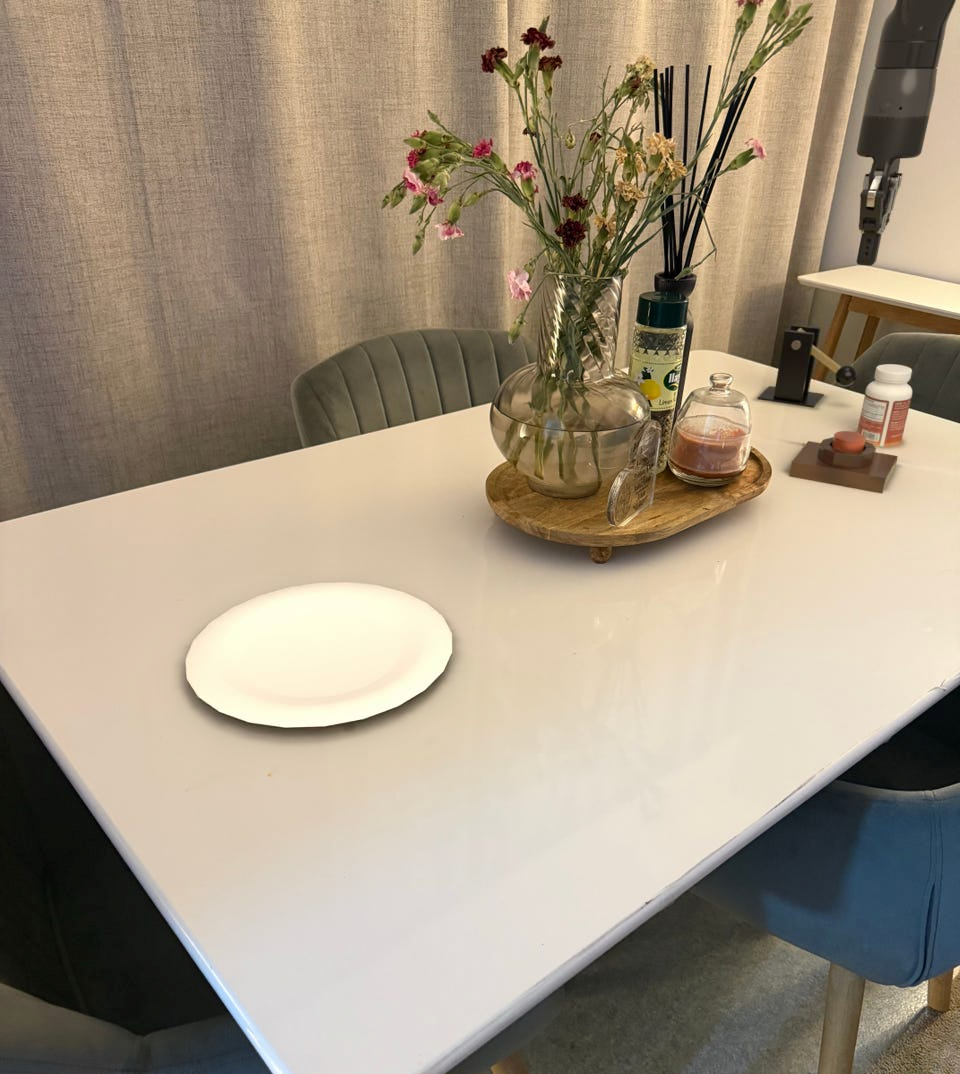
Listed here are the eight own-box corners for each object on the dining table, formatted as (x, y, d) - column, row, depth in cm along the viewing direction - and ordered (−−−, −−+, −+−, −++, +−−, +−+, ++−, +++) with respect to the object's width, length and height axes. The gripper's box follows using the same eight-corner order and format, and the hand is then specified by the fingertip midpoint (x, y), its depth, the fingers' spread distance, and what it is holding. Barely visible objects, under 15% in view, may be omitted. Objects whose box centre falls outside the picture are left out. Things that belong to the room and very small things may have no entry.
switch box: (894, 471, 126) (901, 443, 123) (882, 494, 119) (889, 465, 117) (805, 455, 131) (810, 428, 129) (788, 476, 124) (794, 448, 122)
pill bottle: (895, 438, 136) (913, 363, 130) (903, 453, 131) (922, 375, 125) (851, 435, 137) (867, 361, 131) (858, 450, 132) (875, 373, 126)
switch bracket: (822, 401, 151) (837, 327, 145) (812, 413, 146) (826, 337, 140) (768, 393, 155) (779, 321, 149) (756, 404, 150) (768, 330, 144)
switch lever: (849, 387, 146) (863, 371, 144) (844, 392, 144) (859, 376, 142) (789, 341, 148) (802, 324, 145) (784, 346, 145) (797, 329, 143)
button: (865, 446, 124) (868, 433, 123) (859, 456, 121) (862, 443, 120) (835, 441, 125) (837, 429, 124) (828, 450, 122) (831, 438, 121)
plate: (385, 768, 74) (384, 751, 73) (130, 706, 81) (125, 690, 80) (490, 617, 94) (489, 603, 93) (276, 578, 101) (274, 565, 100)
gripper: (921, 115, 105) (886, 276, 114) (937, 110, 114) (904, 258, 124) (853, 114, 108) (824, 270, 117) (874, 109, 118) (846, 253, 127)
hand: (865, 264), depth 120 cm, fingers closed
